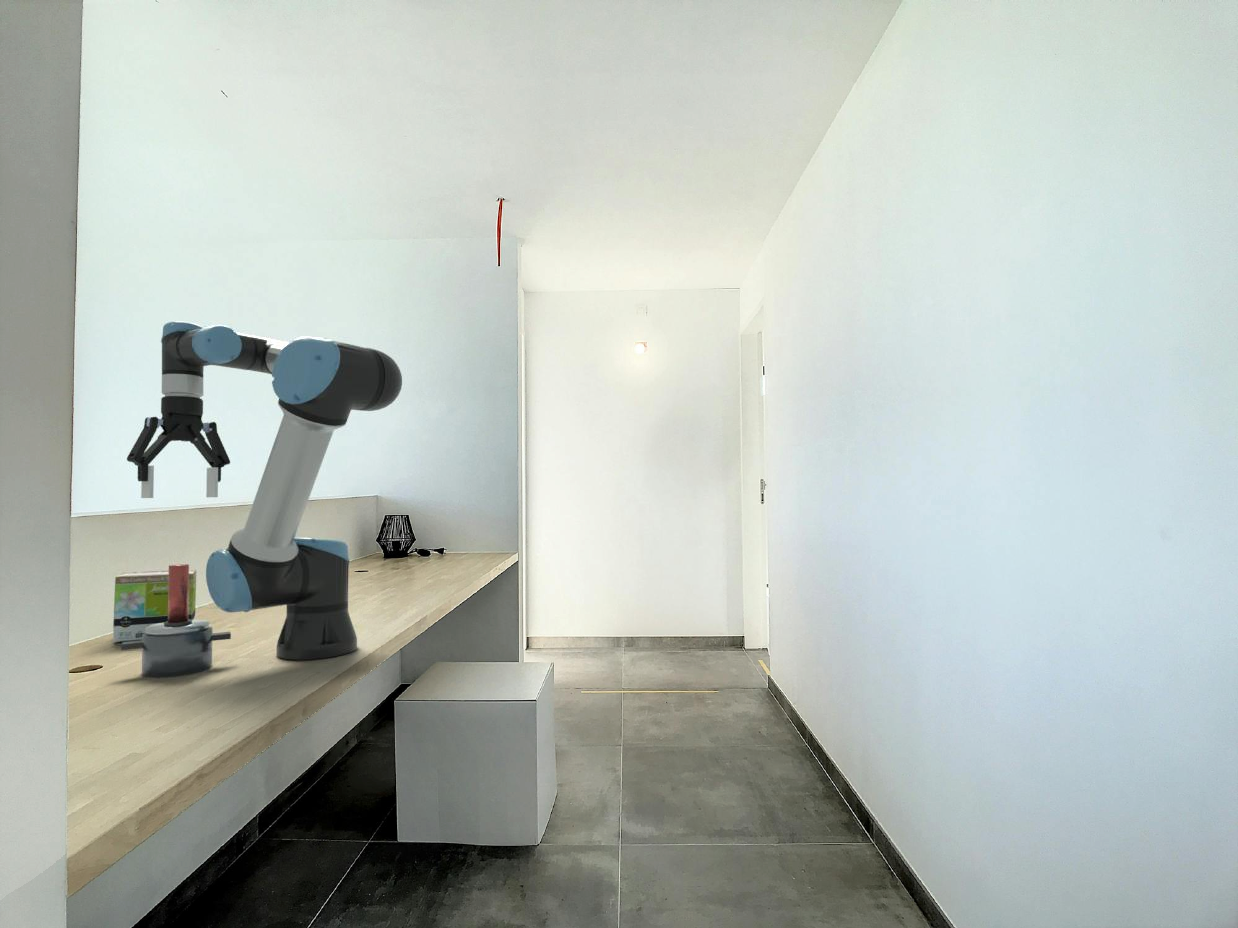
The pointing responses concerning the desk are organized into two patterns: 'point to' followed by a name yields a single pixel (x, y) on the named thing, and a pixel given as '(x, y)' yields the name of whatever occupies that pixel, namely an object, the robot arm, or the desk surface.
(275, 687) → the desk surface
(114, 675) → the desk surface
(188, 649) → the pot
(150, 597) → the tea box
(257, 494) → the robot arm
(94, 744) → the desk surface
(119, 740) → the desk surface
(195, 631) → the lid
